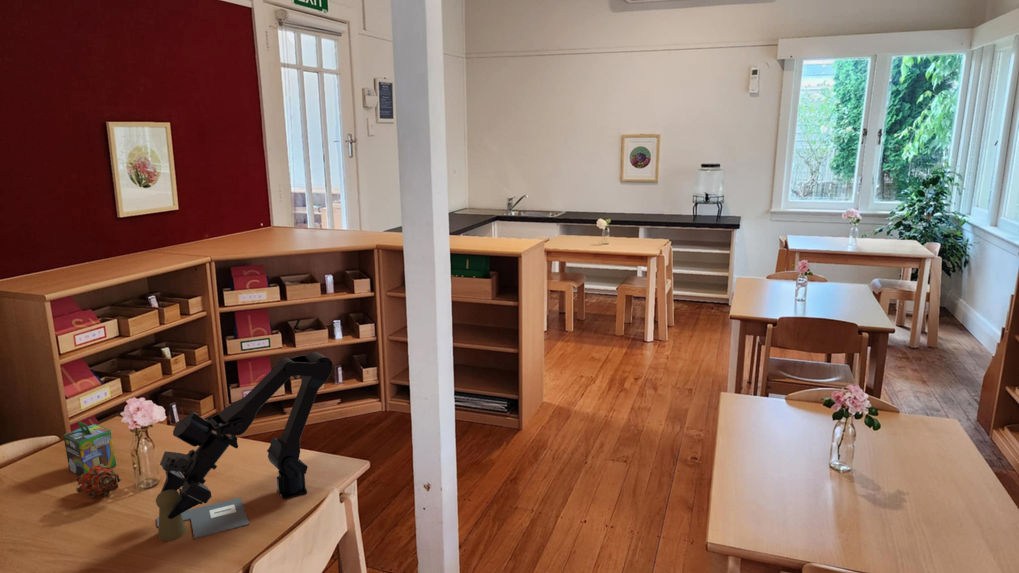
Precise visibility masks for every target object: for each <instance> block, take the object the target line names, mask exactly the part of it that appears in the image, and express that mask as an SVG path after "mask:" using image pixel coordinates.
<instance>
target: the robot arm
mask: <svg viewBox="0 0 1019 573" xmlns="http://www.w3.org/2000/svg"><path fill="white" fill-rule="evenodd" d="M333 369H334V363H333V361H332V360H331V359H330V358H329V357H327V356H326V355H323V354H322V353H320V352H318V351H313V352H309V353H308V354H307V353H306V354H301V355H295V356H293V357H284V358H281V359H280V360H279V361H278V362H277V364H276V365H275V366H274V367H273V368H272V369H271V370H270V371H269V372H268V373H267V375H265V376H264V377H263V378H262V379H261V380H260V381H259V382H258V383H257V384H256V385H255V386H254V387H253V388H252V389H251V390H250V391H248V393H247V394H246V395H244V396H243V397H242V398H240V399H237V400H236V401H234V402H232V403H230V404H229V405H228V406H226V407H225V408H224V409H222V410H221V411H220V412H219V413H217V414H214V415H212V416H209V417H206V418H204V417H202V416H200V415H199V414H198V413H197V412H195V411H191V412H190V413H189V414H188V415H185V416H184V417H183V418H181V419H179V420H178V421H177V423H176V424H175V426H174V428H173V431H172V434H173V437H175V438H176V439H179V440H180V441H183V442H184V443H186V444H188V445H189V446H192V447H197V448H196V450H195V449H193V448H192V449H191V450H189V452H187V453H183V452H182V453H181V452H176V451H164V452H163V455H162V458H161V461H160V463H159V465H160V466H161V467H162V470H163V471H165V476H166V478H165V481H164V484H163V485H162V488H161V491H160V493H161V492H163V491H165V490H176V491H178V492H179V494H180V497H179V498H178V500H177V502H176V503H175V505H174V506H173V508H172V509H171V511H170V513H169V515H168V516H167V517H168V518H169V519H173V518H174V517H176V516H178V515H179V514H181V513H183V512H185V511H186V510H190V509H193V507H196V506H198V505H202V504H203V503H204V504H207V503H208V502H209V501H210V499H211V498H212V491H211V490H210V489H209V487H208V486H207V485H205V483H206V482H207V480H206V479H205V477H206V476H207V475H208V474H209V472H210V471H211V470H216V469H217V468H218V465H217V464H216V463H217V462H218V461H219V459H221V457H222V455H223V454H224V453H225V451H227V450H228V448H229V446H231V447H232V448H233V449H238V448H239V444H238V437H237V436H241V435H242V434H244V433H245V432H246V431H247V430H248V429H249V428H250V426H251V424H252V423H253V422H254V421H255V418H256V416H257V413H258V412H259V410H260V409H261V408H262V406H264V405H265V404H266V403H267V402H268V401H269V400H270V399H271V397H273V396H274V395H275V394H276V393H277V391H278V390H280V388H281V387H282V386H284V384H285V383H287V381H288V380H290V378H292V377H297V376H299V377H300V376H301V377H300V379H301V382H300V386H299V389H298V392H297V393H296V394H297V395H296V397H295V399H294V402H293V405H292V408H291V410H290V413H289V414H288V418H287V421H286V423H285V426H284V429H283V432H282V433H281V434H280V435H279V436H278V437H277V438H276V437H272V438H271V441H270V445H269V448H268V449H267V450H266V452H267V453H268V454H267V458H268V461H269V463H271V464H272V465H273V466H274V467H275V468H276V469H277V470H278V476H276V486H277V492H278V494H279V495H280V496H281V498H282V499H283V500H286V499H290V498H293V497H297V496H302V495H306V494H307V493H308V489H307V488H306V478H305V477H306V476H305V474H307V471H308V465H307V464H306V463H304V461H302V460H301V459H300V454H301V437H302V434H303V432H304V429H305V427H306V424H307V422H308V419H309V416H310V413H311V411H312V409H313V408H312V407H313V406H314V403H315V400H316V397H317V394H318V392H319V390H320V389H321V387H322V386H323V385H324V384H326V383H327V382H328V380H329V379H330V376H331V374H332V373H333Z"/></svg>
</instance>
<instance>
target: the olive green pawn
mask: <svg viewBox="0 0 1019 573" xmlns="http://www.w3.org/2000/svg"><path fill="white" fill-rule="evenodd" d="M179 497H180V494H179V490H177V491H176V490H165V491H163V492H161V491H160V493H158V494H157V496H156V498H155V504H156V506H157V507H158V509H159V512H158V517H159V527H158V532H157V533H158V539H159V540H161V541H165V542H166V541H173V540H176V539H179V538H182V536H184V535H185V533H186V531H187V529H186V527H185V521H183V518H182V515H181V514H179V515H178V516H176V517H174V518H173V519H169V518H168V517H167V516H168V515H169V513H170V511H171V509H172V508H173V506H174V505H175V503H176V502H177V500H178V498H179Z"/></svg>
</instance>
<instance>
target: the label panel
mask: <svg viewBox="0 0 1019 573" xmlns="http://www.w3.org/2000/svg"><path fill="white" fill-rule="evenodd" d="M181 515H182V518H183V522H186V521H190V522H191V528H192V533H193V539H194V540H196V539H200V538H203V537H207V536H211V535H214V534H218V533H222V532H226V531H230V530H234V529H238V528H242V527H246V526H249V525H250V523H249V520H248V519H249V518H248V516H247V514H246V510H245V507H244V504H243V500H242V498H241V497H236V498H233V499H228V500H224V501H220V502H215V503H212V504H208V505H207V504H206V505H204V506H199V507H195V508H190V509H188V510H186V511H185V512H183V513H181ZM156 525H157V528H159V516H157V517H156Z"/></svg>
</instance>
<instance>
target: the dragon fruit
mask: <svg viewBox="0 0 1019 573" xmlns="http://www.w3.org/2000/svg"><path fill="white" fill-rule="evenodd" d="M120 481H122V479H121V478H120V475H119V473H118V472H116V471H115V470H114V469H113V467H111V468H110V467H109V466H100V465H97V466H93V467H92V468H91V469H90V471H89V472H87V473H84V474H83V475H81V476H79V475H78V477H77V479H76V481H74V482H73V483H75V482H77V486H79V487H76V488H75V490H76V492H77V493H78V494H80V493H87V492H88V496H89V497H90V498H95V497H96V496H101V497H102V496H104V497H105V496H107V495H110V492H115V491H116V490H118V489H119V483H120Z"/></svg>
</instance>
